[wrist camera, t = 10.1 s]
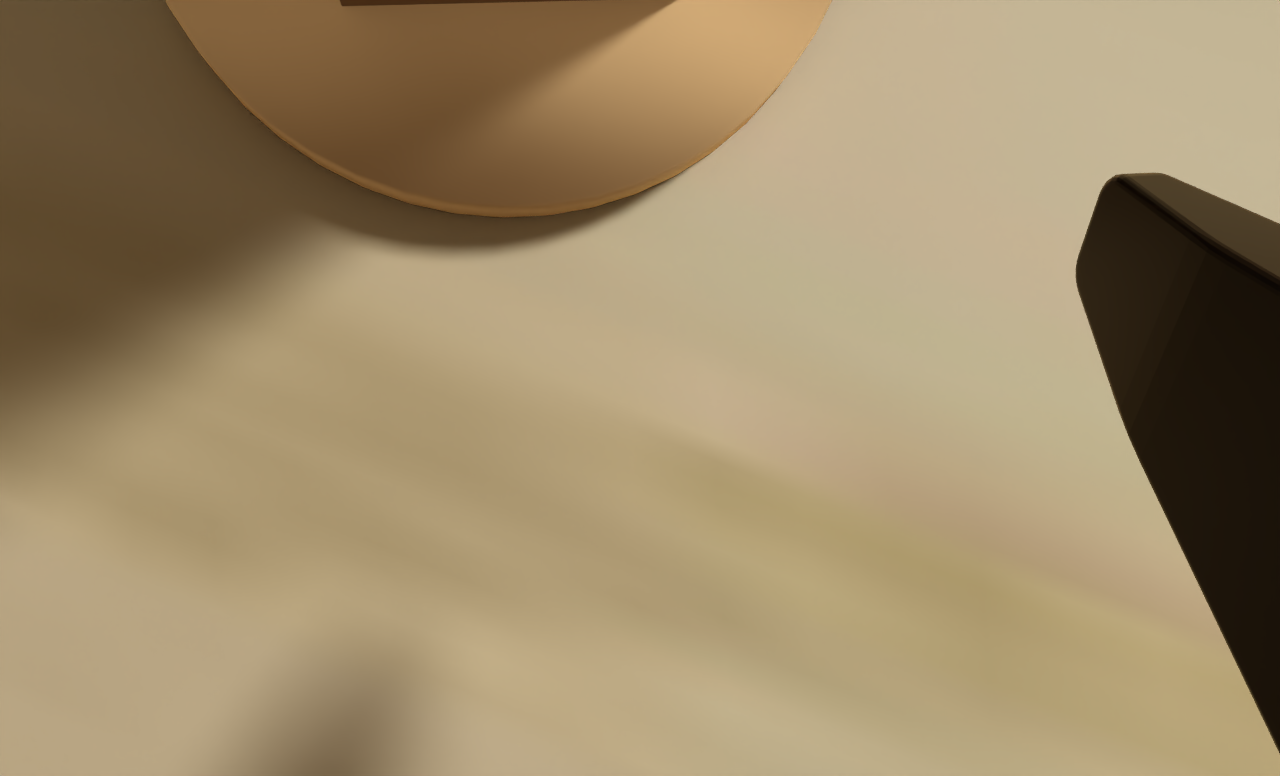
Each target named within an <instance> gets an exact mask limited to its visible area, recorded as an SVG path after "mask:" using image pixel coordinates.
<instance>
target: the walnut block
mask: <svg viewBox="0 0 1280 776" xmlns="http://www.w3.org/2000/svg"><path fill="white" fill-rule="evenodd" d="M544 1H587V0H340V3H341V5H342V6H375V5H417V4H459V3H502V2H544Z"/></svg>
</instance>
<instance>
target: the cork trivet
mask: <svg viewBox="0 0 1280 776" xmlns="http://www.w3.org/2000/svg"><path fill="white" fill-rule="evenodd" d="M165 1H166V3H167V5H168V7H169V9H170V10H171V12H172V13H173V15H174V16H175V18H176V19H177V21H178V22H179V24H180V25H181V27H182V28H183V30H184V31H185V33H186V34H187V36H188V37H189V39H190V40H191V42H192V43H193V45H194V46H195V48H196V49H197V50H198V52H199V53H200V54H201V56H202V57H203V58H204V59H205V61H206V62H207V63H208V64H209V66H210V67H211V68H212V70H213V71H214V72H215V73H216V74H217V75H218V77H219V78H220V79H221V80H222V81H223V82H224V83H225V85H226V86H227V87H228V88H229V89H230V90H231V91H232V93H233V94H234V95H235V96H236V97H237V98H238V99H239V101H240V102H241V103H242V104H243V105H244V106H245V107H246V108H247V109H248V110H249V111H250V112H251V113H252V114H254V115H255V116H256V117H257V118H258V119H259V120H260V121H261V122H263V123H264V124H265V125H266V126H267V127H268V128H269V129H271V130H272V131H273V132H274V133H275V134H276V135H277V136H278V137H280V138H281V139H282V140H284V141H285V142H286V143H288V144H289V145H291V146H292V147H294V148H295V149H297V150H298V151H300V152H301V153H303V154H304V155H306V156H307V157H309V158H310V159H312V160H313V161H314V162H316V163H317V164H319V165H320V166H322V167H324V168H326V169H328V170H330V171H332V172H334V173H336V174H338V175H340V176H342V177H344V178H346V179H348V180H350V181H352V182H354V183H356V184H358V185H360V186H362V187H364V188H367V189H369V190H372V191H375V192H378V193H381V194H383V195H386V196H389V197H392V198H395V199H397V200H400V201H403V202H406V203H409V204H413V205H418V206H423V207H427V208H432V209H436V210H441V211H445V212H450V213H455V214H467V215H478V216H489V217H525V216H548V215H553V214H559V213H565V212H571V211H577V210H582V209H588V208H593V207H596V206H600V205H603V204H606V203H609V202H612V201H616V200H619V199H622V198H625V197H628V196H631V195H635V194H637V193H639V192H641V191H644V190H646V189H648V188H650V187H652V186H654V185H656V184H659V183H661V182H663V181H665V180H667V179H669V178H671V177H674V176H676V175H677V174H679V173H680V172H682V171H684V170H685V169H687V168H688V167H690V166H691V165H693V164H694V163H696V162H698V161H699V160H701V159H702V158H704V157H705V156H707V155H709V154H710V153H712V152H713V151H714V150H715V149H717V148H718V147H719V146H720V145H721V144H723V143H724V142H725V141H726V140H727V139H728V138H730V137H731V136H732V135H733V134H734V133H735V132H737V131H738V130H739V129H740V128H741V127H743V126H744V125H745V124H746V123H747V122H748V121H749V120H750V119H751V117H752V116H753V115H754V114H755V113H756V112H757V111H758V110H759V109H760V107H761V106H762V105H763V104H764V103H765V102H766V101H767V100H768V98H769V97H770V96H771V95H772V94H773V93H774V92H775V91H776V89H777V88H778V87H779V85H780V84H781V83H782V81H783V80H784V79H785V77H786V76H787V75H788V73H789V72H790V71H791V69H792V68H793V66H794V65H795V63H796V62H797V60H798V59H799V57H800V56H801V54H802V53H803V51H804V50H805V48H806V47H807V45H808V44H809V42H810V41H811V39H812V38H813V37H814V35H815V34H816V32H817V29H818V27H819V25H820V23H821V21H822V19H823V17H824V15H825V13H826V11H827V9H828V7H829V5H830V3H831V1H832V0H587V1H544V2H502V3H459V4H417V5H375V6H342V5H341V3H340V0H165Z"/></svg>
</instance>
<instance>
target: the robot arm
mask: <svg viewBox="0 0 1280 776" xmlns="http://www.w3.org/2000/svg"><path fill="white" fill-rule="evenodd" d="M1076 283H1077V288H1078V292H1079V295H1080V298H1081V301H1082V304H1083V307H1084V310H1085V313H1086V315H1087V318H1088V321H1089V324H1090V327H1091V330H1092V333H1093V336H1094V339H1095V342H1096V345H1097V348H1098V351H1099V354H1100V357H1101V360H1102V363H1103V366H1104V369H1105V372H1106V374H1107V377H1108V380H1109V383H1110V386H1111V389H1112V392H1113V395H1114V398H1115V401H1116V404H1117V407H1118V410H1119V413H1120V415H1121V418H1122V420H1123V423H1124V426H1125V428H1126V431H1127V434H1128V436H1129V438H1130V441H1131V443H1132V445H1133V447H1134V450H1135V452H1136V454H1137V456H1138V459H1139V461H1140V463H1141V465H1142V467H1143V469H1144V471H1145V473H1146V476H1147V478H1148V480H1149V482H1150V484H1151V486H1152V488H1153V490H1154V492H1155V494H1156V496H1157V498H1158V501H1159V503H1160V505H1161V507H1162V509H1163V511H1164V513H1165V515H1166V517H1167V519H1168V521H1169V524H1170V526H1171V528H1172V530H1173V532H1174V534H1175V536H1176V538H1177V540H1178V542H1179V544H1180V547H1181V549H1182V551H1183V553H1184V555H1185V557H1186V559H1187V561H1188V563H1189V565H1190V567H1191V569H1192V572H1193V574H1194V576H1195V578H1196V580H1197V582H1198V584H1199V586H1200V588H1201V590H1202V592H1203V595H1204V597H1205V599H1206V601H1207V603H1208V605H1209V607H1210V609H1211V611H1212V613H1213V615H1214V617H1215V620H1216V622H1217V624H1218V626H1219V628H1220V630H1221V632H1222V634H1223V636H1224V638H1225V640H1226V643H1227V645H1228V647H1229V649H1230V651H1231V653H1232V655H1233V657H1234V659H1235V661H1236V663H1237V666H1238V668H1239V670H1240V672H1241V674H1242V676H1243V678H1244V680H1245V682H1246V684H1247V686H1248V688H1249V691H1250V693H1251V695H1252V697H1253V699H1254V701H1255V703H1256V705H1257V707H1258V709H1259V711H1260V714H1261V716H1262V718H1263V720H1264V722H1265V724H1266V726H1267V728H1268V730H1269V732H1270V734H1271V737H1272V739H1273V741H1274V743H1275V745H1276V747H1277V749H1278V751H1279V753H1280V224H1279V223H1277V222H1274V221H1272V220H1270V219H1267V218H1265V217H1263V216H1261V215H1258V214H1256V213H1254V212H1251V211H1249V210H1247V209H1244V208H1242V207H1240V206H1238V205H1235V204H1233V203H1231V202H1228V201H1226V200H1224V199H1221V198H1219V197H1217V196H1215V195H1212V194H1210V193H1208V192H1205V191H1203V190H1201V189H1198V188H1196V187H1194V186H1192V185H1189V184H1187V183H1185V182H1182V181H1180V180H1178V179H1175V178H1173V177H1171V176H1169V175H1166V174H1162V173H1135V174H1119V175H1115V176H1114V177H1112V178H1111V179H1109V180H1108V181H1107V182H1106V183H1105V185H1104V186H1103V188H1102V190H1101V192H1100V194H1099V197H1098V200H1097V203H1096V206H1095V209H1094V211H1093V214H1092V217H1091V220H1090V223H1089V226H1088V229H1087V232H1086V235H1085V238H1084V241H1083V244H1082V247H1081V250H1080V253H1079V255H1078V259H1077V265H1076Z"/></svg>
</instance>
